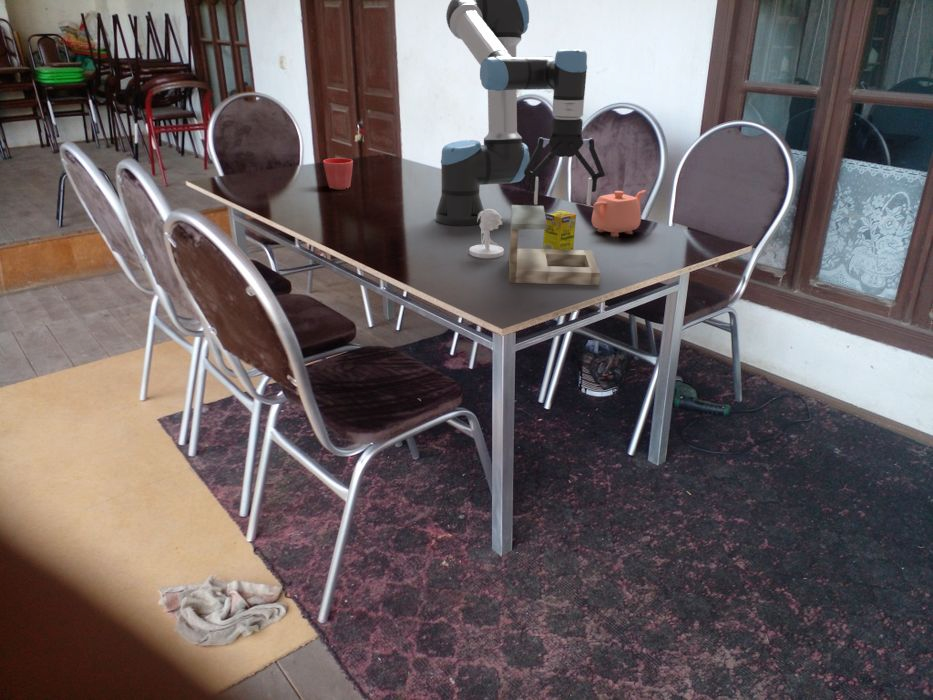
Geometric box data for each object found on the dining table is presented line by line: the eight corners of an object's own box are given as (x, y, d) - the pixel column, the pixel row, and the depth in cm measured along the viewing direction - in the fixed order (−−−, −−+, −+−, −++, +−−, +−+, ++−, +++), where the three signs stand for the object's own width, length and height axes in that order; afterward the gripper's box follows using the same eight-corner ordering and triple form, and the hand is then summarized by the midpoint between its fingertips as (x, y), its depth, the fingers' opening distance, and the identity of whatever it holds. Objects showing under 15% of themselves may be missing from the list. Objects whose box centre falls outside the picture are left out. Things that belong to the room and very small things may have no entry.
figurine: (468, 248, 191) (468, 204, 186) (501, 248, 191) (502, 204, 186) (471, 258, 182) (471, 213, 177) (505, 258, 183) (507, 212, 178)
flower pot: (360, 186, 261) (359, 159, 256) (340, 191, 252) (338, 164, 248) (339, 183, 266) (337, 156, 262) (318, 188, 257) (316, 161, 253)
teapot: (606, 241, 199) (610, 199, 193) (577, 231, 207) (581, 191, 202) (655, 231, 209) (660, 191, 204) (626, 222, 218) (630, 183, 212)
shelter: (509, 282, 166) (511, 223, 160) (509, 259, 182) (511, 205, 176) (598, 285, 165) (604, 225, 159) (590, 261, 181) (595, 207, 175)
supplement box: (558, 258, 183) (561, 217, 179) (541, 253, 187) (544, 213, 183) (573, 254, 187) (577, 213, 182) (556, 249, 191) (559, 209, 186)
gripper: (516, 118, 169) (513, 206, 178) (620, 120, 168) (612, 208, 177) (516, 115, 176) (513, 199, 185) (616, 116, 175) (608, 201, 184)
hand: (562, 204), depth 181 cm, fingers open, 13 cm apart
